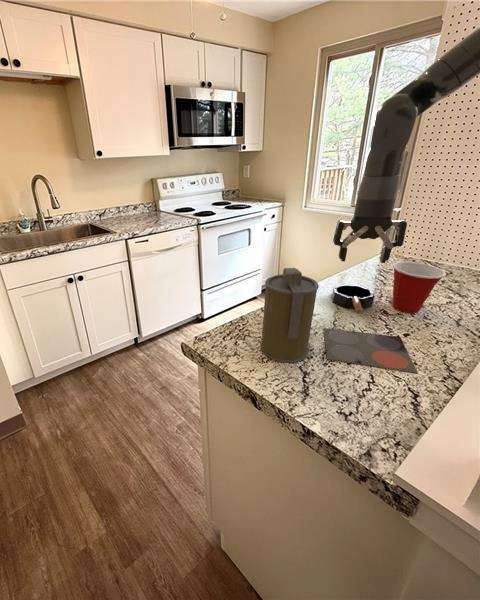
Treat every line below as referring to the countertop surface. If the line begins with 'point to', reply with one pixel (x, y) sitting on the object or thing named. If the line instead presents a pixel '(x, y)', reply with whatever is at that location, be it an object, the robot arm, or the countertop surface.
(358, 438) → the countertop surface
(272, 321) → the canister
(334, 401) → the countertop surface
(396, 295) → the plastic cup
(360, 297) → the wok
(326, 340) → the grey slab
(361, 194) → the robot arm
